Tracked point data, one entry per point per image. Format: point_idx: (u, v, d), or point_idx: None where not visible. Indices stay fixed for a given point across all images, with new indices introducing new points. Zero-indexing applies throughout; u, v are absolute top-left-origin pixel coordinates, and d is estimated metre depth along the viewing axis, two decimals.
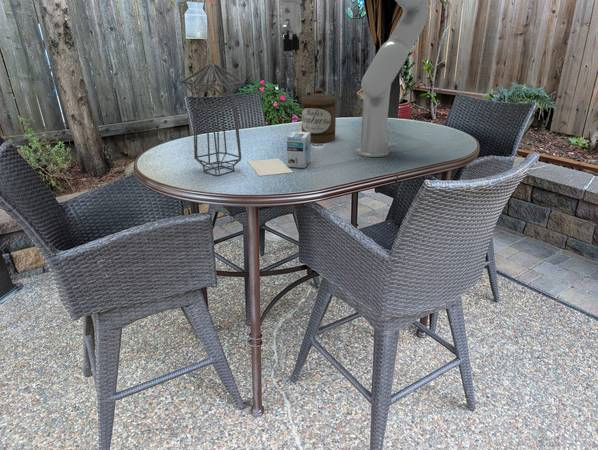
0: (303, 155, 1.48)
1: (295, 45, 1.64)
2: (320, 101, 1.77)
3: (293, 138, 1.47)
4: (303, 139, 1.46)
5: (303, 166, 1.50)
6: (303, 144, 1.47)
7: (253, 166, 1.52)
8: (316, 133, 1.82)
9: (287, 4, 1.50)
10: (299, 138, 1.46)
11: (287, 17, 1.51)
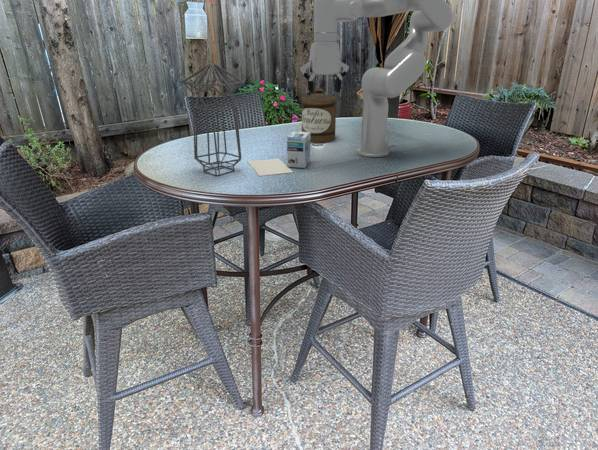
0: (303, 155, 1.48)
1: None
2: (320, 101, 1.77)
3: (293, 138, 1.47)
4: (303, 139, 1.46)
5: (303, 166, 1.50)
6: (303, 144, 1.47)
7: (253, 166, 1.52)
8: (316, 133, 1.82)
9: None
10: (299, 138, 1.46)
11: None
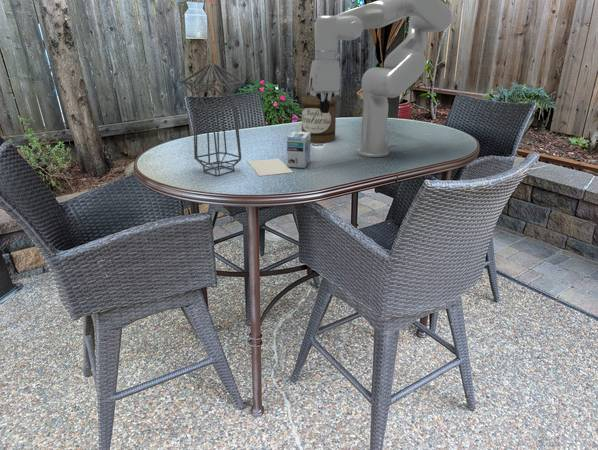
0: (303, 155, 1.48)
1: None
2: None
3: (293, 138, 1.47)
4: (303, 139, 1.46)
5: (303, 166, 1.50)
6: (303, 144, 1.47)
7: (253, 166, 1.52)
8: (316, 133, 1.82)
9: None
10: (299, 138, 1.46)
11: None
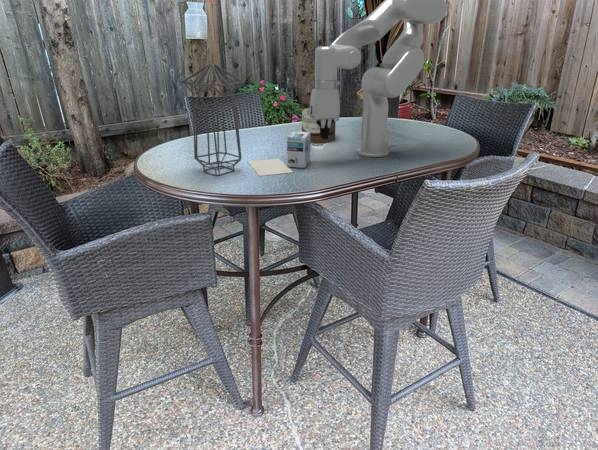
0: (303, 155, 1.48)
1: None
2: None
3: (293, 138, 1.47)
4: (303, 139, 1.46)
5: (303, 166, 1.50)
6: (303, 144, 1.47)
7: (253, 166, 1.52)
8: (316, 133, 1.82)
9: None
10: (299, 138, 1.46)
11: None
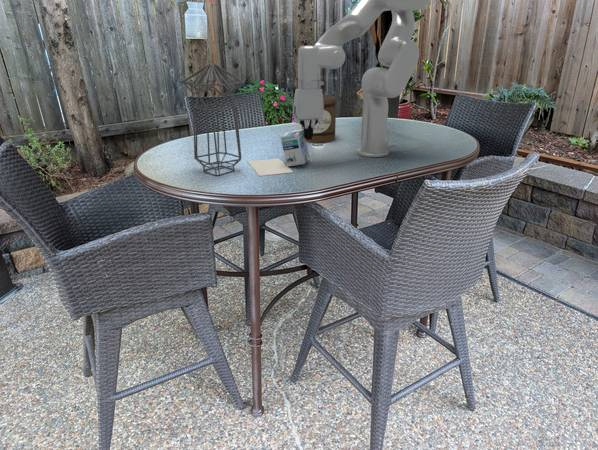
0: (300, 151, 1.48)
1: None
2: None
3: (286, 137, 1.47)
4: (296, 136, 1.46)
5: (302, 162, 1.49)
6: (297, 140, 1.47)
7: (253, 166, 1.52)
8: (316, 133, 1.83)
9: None
10: (292, 135, 1.47)
11: None
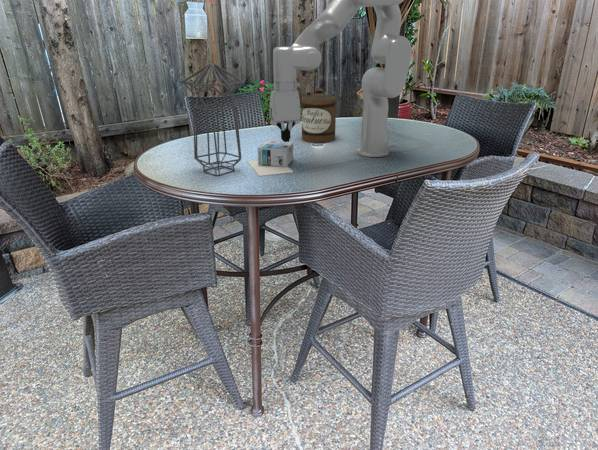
0: (274, 149, 1.49)
1: None
2: (320, 101, 1.77)
3: (259, 158, 1.52)
4: (259, 149, 1.51)
5: (285, 150, 1.49)
6: (263, 149, 1.50)
7: (253, 166, 1.52)
8: (316, 133, 1.83)
9: None
10: (258, 152, 1.51)
11: None
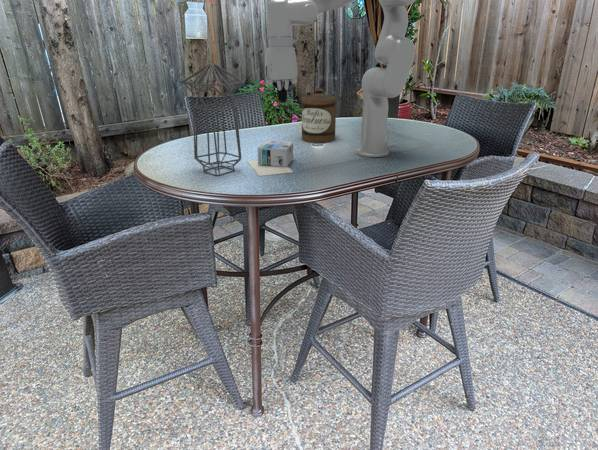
0: (274, 149, 1.49)
1: None
2: (320, 101, 1.77)
3: (259, 158, 1.52)
4: (258, 149, 1.51)
5: (285, 150, 1.49)
6: (263, 149, 1.50)
7: (253, 166, 1.52)
8: (316, 133, 1.83)
9: None
10: (258, 153, 1.51)
11: None
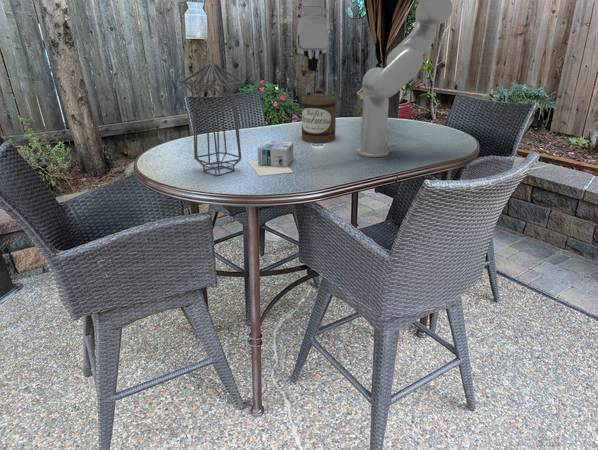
0: (274, 149, 1.49)
1: None
2: (320, 101, 1.77)
3: (259, 158, 1.52)
4: (258, 149, 1.51)
5: (285, 150, 1.49)
6: (263, 149, 1.50)
7: (253, 166, 1.52)
8: (316, 133, 1.83)
9: None
10: (258, 153, 1.51)
11: None
